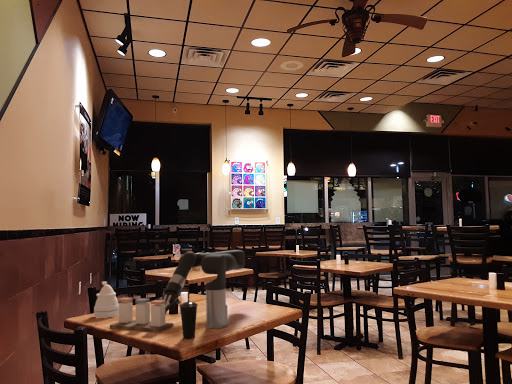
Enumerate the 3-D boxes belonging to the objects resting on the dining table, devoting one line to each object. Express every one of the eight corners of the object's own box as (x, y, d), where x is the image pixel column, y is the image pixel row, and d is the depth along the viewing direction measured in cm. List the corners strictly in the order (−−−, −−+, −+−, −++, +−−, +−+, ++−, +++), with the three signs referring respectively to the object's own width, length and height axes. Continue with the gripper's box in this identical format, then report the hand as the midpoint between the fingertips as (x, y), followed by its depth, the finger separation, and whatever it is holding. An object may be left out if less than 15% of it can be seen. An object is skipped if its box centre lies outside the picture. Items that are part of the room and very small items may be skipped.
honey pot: (88, 317, 218) (88, 283, 220) (107, 312, 230) (107, 279, 231) (105, 319, 212) (105, 284, 214) (124, 314, 224) (124, 280, 225)
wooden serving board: (173, 326, 194) (173, 323, 194) (159, 332, 183) (159, 329, 183) (125, 322, 204) (125, 319, 204) (109, 328, 194) (109, 324, 194)
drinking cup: (199, 334, 178) (198, 287, 179) (197, 339, 170) (196, 290, 172) (181, 335, 178) (180, 288, 179) (178, 340, 170) (178, 291, 171)
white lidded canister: (165, 324, 190) (165, 300, 191) (160, 326, 186) (160, 302, 187) (156, 323, 192) (156, 299, 193) (150, 326, 188) (150, 301, 189)
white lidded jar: (150, 322, 196) (149, 298, 196) (144, 324, 192) (144, 300, 193) (141, 321, 198) (140, 298, 198) (135, 323, 194) (135, 299, 194)
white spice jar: (132, 320, 199) (132, 297, 200) (127, 322, 195) (127, 299, 196) (124, 320, 201) (124, 297, 202) (118, 322, 197) (118, 299, 198)
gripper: (189, 290, 204) (176, 321, 192) (167, 289, 209) (153, 320, 197) (183, 281, 199) (169, 312, 187) (161, 280, 204) (145, 311, 192)
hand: (161, 316), depth 192 cm, fingers closed
